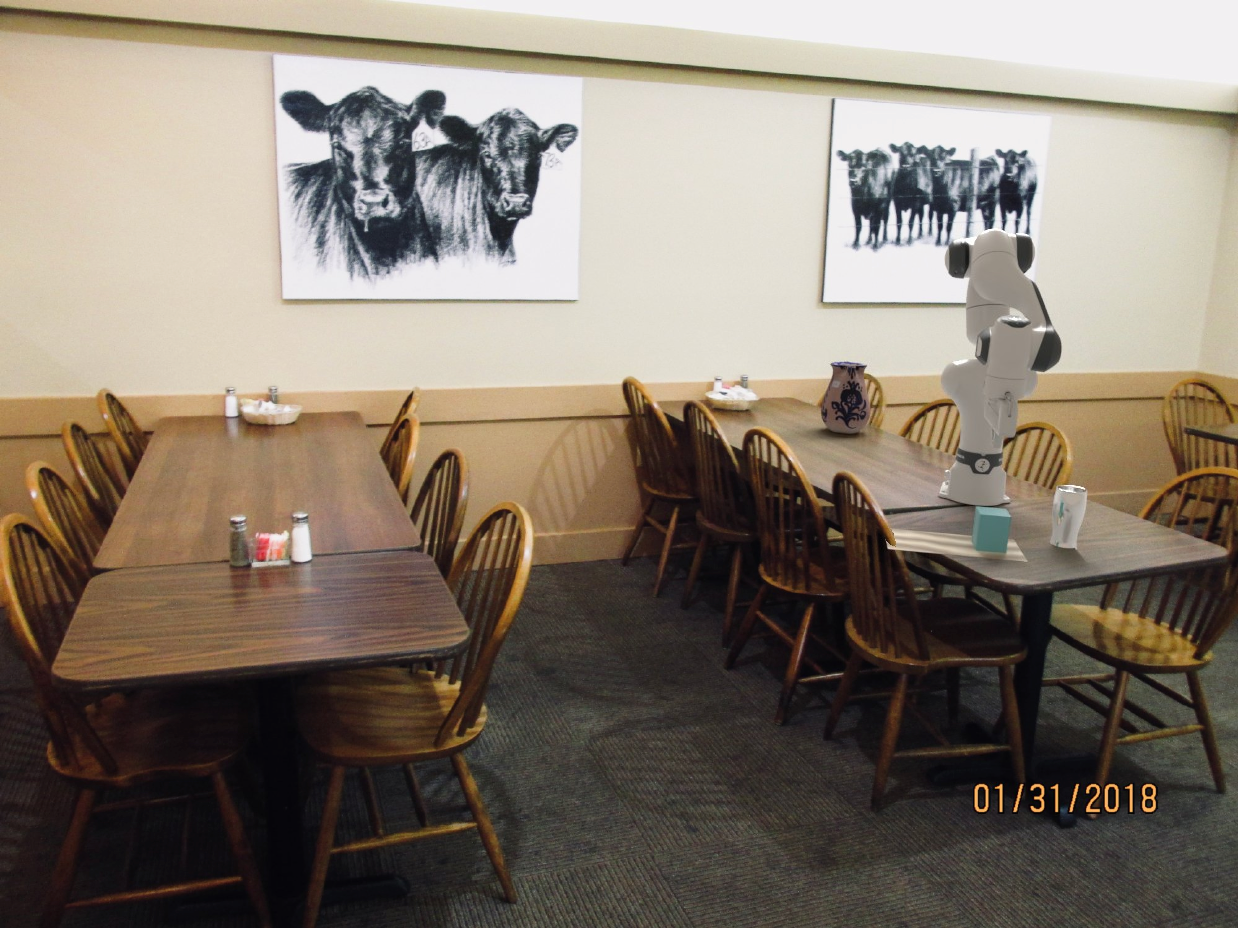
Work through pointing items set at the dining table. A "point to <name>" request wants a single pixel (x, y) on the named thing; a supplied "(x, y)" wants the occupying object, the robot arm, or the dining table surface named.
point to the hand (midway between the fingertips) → (995, 446)
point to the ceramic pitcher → (846, 399)
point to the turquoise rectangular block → (991, 529)
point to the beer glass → (1067, 515)
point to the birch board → (949, 545)
